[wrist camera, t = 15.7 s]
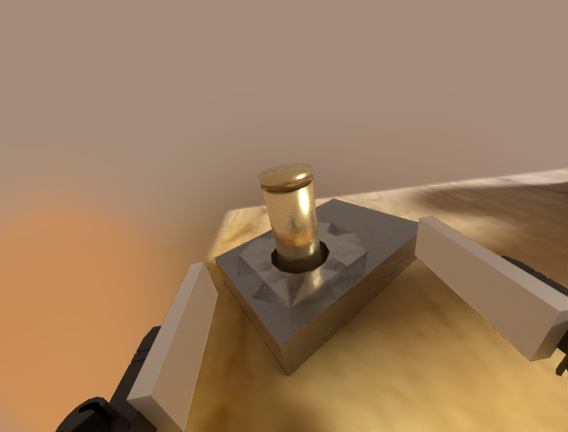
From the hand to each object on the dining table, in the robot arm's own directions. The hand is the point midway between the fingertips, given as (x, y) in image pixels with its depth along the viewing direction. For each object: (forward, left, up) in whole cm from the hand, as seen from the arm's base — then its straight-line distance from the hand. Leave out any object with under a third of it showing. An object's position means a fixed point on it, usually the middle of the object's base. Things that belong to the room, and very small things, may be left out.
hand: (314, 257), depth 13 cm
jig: (-8, -9, -11) cm, 16 cm away
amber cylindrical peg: (-5, -9, -11) cm, 15 cm away
